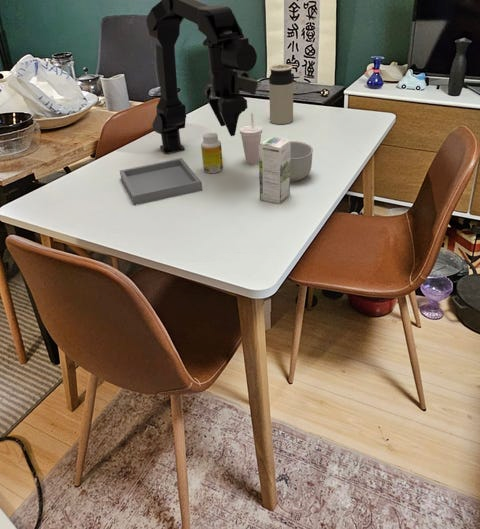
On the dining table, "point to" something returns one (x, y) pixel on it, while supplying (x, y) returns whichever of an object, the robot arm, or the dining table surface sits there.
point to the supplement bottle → (211, 153)
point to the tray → (160, 181)
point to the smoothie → (251, 141)
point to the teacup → (300, 160)
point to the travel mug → (281, 94)
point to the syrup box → (274, 169)
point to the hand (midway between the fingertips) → (227, 130)
